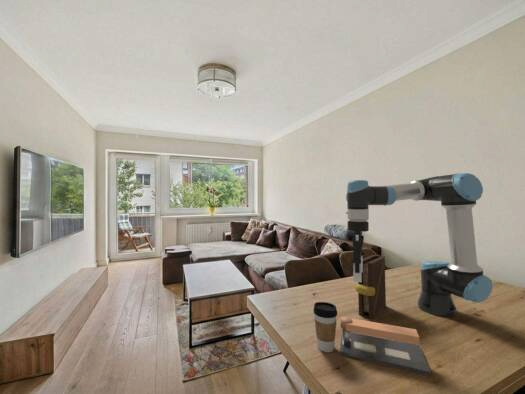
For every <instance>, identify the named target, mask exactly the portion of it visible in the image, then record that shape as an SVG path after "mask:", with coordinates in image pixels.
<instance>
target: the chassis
mask: <svg viewBox="0 0 525 394" xmlns="http://www.w3.org/2000/svg"><path fill="white" fill-rule="evenodd" d="M421 348H422V347H420V345H417V344H412V343H406V342H401V341H396V340H391V339H386V338H381V337H376V336H371V335H365V334H360V333H355V332H350V331H346V330H344V329H342V328H341V337H340V345H339V355H340V356H344V357H348V358H353V359H357V360H362V361H366V362H370V363H374V364H379V365H382V366H387V367H391V368H395V369H400V370H404V371H408V372H411V373H412V372H413V373H417V374H421V375H424V376H428V377H429V376H430V377H431V370H430V367H429V365H428V364H427V360H426V357H425V356H424V353H423V351H422V349H421Z"/></svg>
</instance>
